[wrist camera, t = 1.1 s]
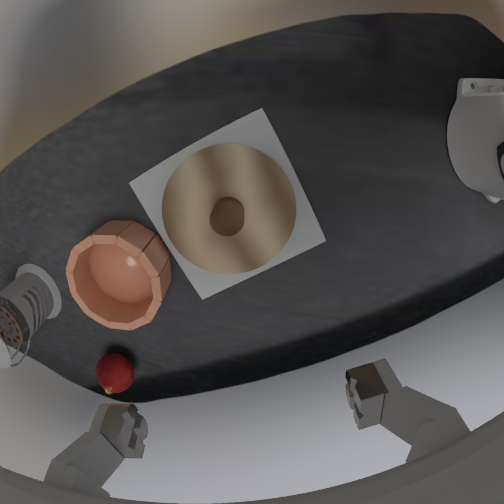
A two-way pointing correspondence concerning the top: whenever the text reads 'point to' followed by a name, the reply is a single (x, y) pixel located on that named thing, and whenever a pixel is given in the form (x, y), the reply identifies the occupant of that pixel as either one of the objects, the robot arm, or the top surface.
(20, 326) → the french press
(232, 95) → the top surface
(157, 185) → the mat
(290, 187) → the lid
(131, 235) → the bowl
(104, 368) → the pomegranate
